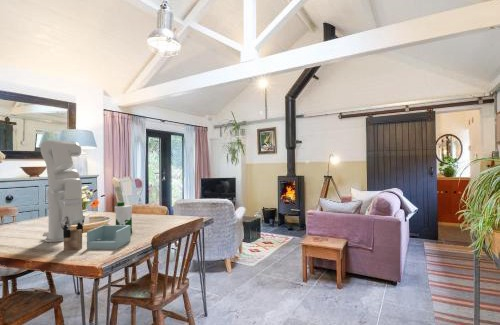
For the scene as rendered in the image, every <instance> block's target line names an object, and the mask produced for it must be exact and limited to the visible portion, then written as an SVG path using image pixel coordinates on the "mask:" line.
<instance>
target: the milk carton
mask: <svg viewBox="0 0 500 325" xmlns="http://www.w3.org/2000/svg"><path fill="white" fill-rule="evenodd" d="M133 206H134V205H133V204H132V205H131V204H130V205H129V204H125V202H121V201H120V202H119V201H118V202H117V204H116V205H115V206H114V213H115V225H131V234H133V219H132V218H133V213H132V212H133V208H134V207H133Z"/></svg>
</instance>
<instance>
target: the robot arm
mask: <svg viewBox="0 0 500 325" xmlns="http://www.w3.org/2000/svg"><path fill="white" fill-rule="evenodd" d="M39 148H40V154H41V157H42V159H43V160H44V162H45V164H46V165H45V166H46V172H47V173H46V175H47V183H48V184H47V185H48V188H47V190H46V200H47V205H48V209H47V211H48V221H47V222H48V223H47V224H48V232H46V231H45V232H43V233H42V237H46V238H45V239H44V241H45V242H46V243H60V242H64V238H70V237H71V234H70V230H69V229H71V227H72V226H74V225H76V227H75V229H82V234H83V233H84V229H83V228H84V222H85V220H86V219H85V218H86V216H85V215H84V212H83V202H82V200H83V198H82V196H83V190H82V188H83V185H82V184H83V182H82V180H81V176H80V173H79V171H78V170H77V169H73V168H72V166H73V165H74V162H73V158H72V157H80V156H81V154H82V147H81V145H80V144H79V143H78V142H76V141H72V140H58V139H57V140H55V139H50V140H48V139H47V140H44V141H42V142H41V143H40V147H39Z"/></svg>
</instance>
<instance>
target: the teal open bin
mask: <svg viewBox="0 0 500 325" xmlns="http://www.w3.org/2000/svg"><path fill="white" fill-rule="evenodd" d="M131 234H132V233H131V225H116V224H115V225H113V224H105V225H104V224H103V225H100V226H98V227H96V228H92V229H90V230H87V231H86V249H87V250H117V249H119V248H121V247H123V246H124V245H126V244H127V243H130V242H131Z"/></svg>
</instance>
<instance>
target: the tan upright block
mask: <svg viewBox="0 0 500 325" xmlns="http://www.w3.org/2000/svg"><path fill="white" fill-rule="evenodd" d="M69 230H70V234H71V237H70V238H64V241H63V251H80V250H82V249H83V233H82V229H76V228H75V229H71V228H70V229H69Z"/></svg>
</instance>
